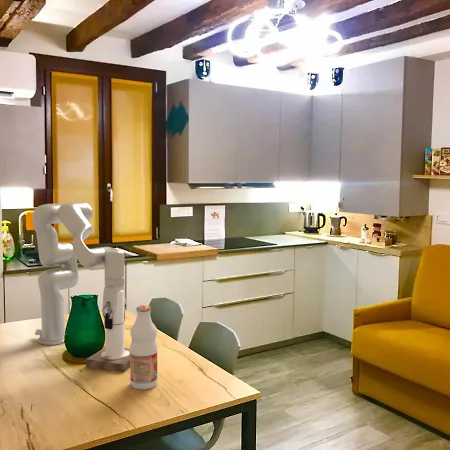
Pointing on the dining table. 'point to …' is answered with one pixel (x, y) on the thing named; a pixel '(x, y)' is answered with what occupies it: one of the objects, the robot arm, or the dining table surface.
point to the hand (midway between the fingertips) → (114, 325)
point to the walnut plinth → (109, 361)
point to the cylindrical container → (116, 330)
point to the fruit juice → (143, 351)
